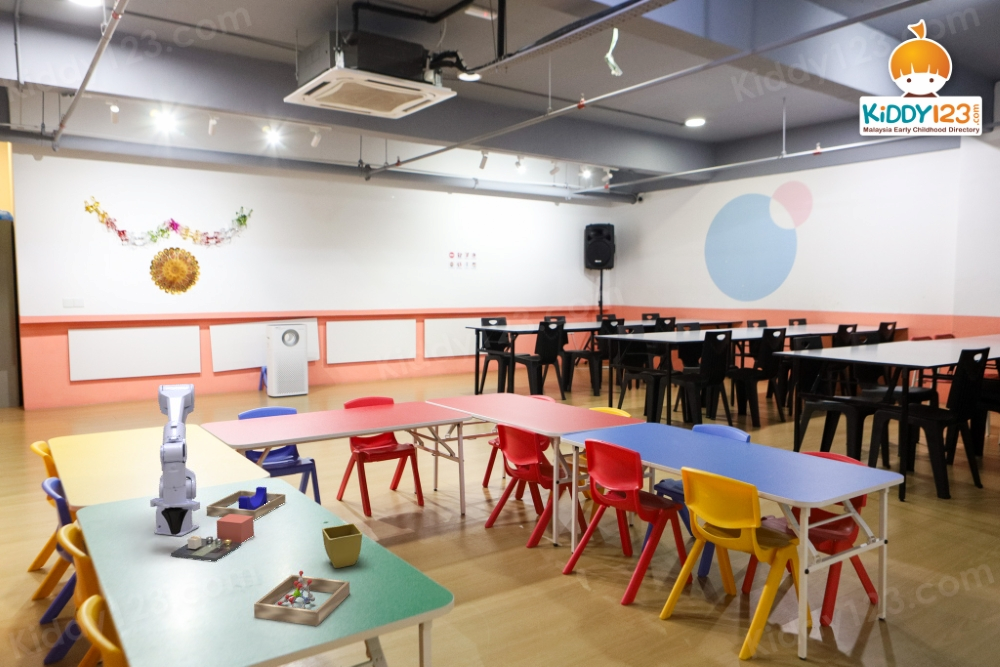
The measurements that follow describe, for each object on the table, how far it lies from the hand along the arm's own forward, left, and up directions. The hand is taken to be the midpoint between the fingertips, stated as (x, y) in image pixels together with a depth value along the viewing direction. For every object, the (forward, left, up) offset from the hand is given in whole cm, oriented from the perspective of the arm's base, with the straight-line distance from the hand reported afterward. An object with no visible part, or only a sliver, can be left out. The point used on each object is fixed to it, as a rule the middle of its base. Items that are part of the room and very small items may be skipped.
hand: (175, 533), depth 182 cm
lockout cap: (+11, +11, -5) cm, 16 cm away
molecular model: (+50, -21, -5) cm, 54 cm away
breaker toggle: (+6, 0, -3) cm, 7 cm away
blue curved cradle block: (0, +34, -5) cm, 35 cm away
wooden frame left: (-1, +34, -5) cm, 34 cm away
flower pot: (+49, +3, -5) cm, 49 cm away
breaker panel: (+9, +1, -5) cm, 10 cm away
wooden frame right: (+51, -20, -5) cm, 55 cm away
